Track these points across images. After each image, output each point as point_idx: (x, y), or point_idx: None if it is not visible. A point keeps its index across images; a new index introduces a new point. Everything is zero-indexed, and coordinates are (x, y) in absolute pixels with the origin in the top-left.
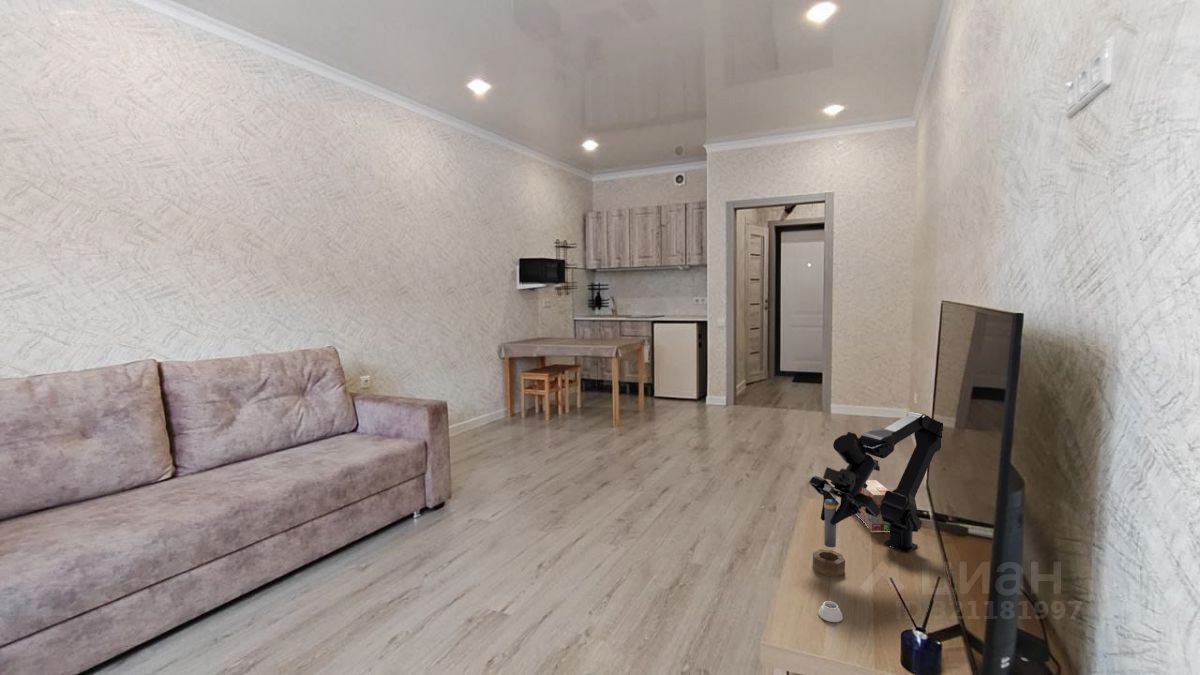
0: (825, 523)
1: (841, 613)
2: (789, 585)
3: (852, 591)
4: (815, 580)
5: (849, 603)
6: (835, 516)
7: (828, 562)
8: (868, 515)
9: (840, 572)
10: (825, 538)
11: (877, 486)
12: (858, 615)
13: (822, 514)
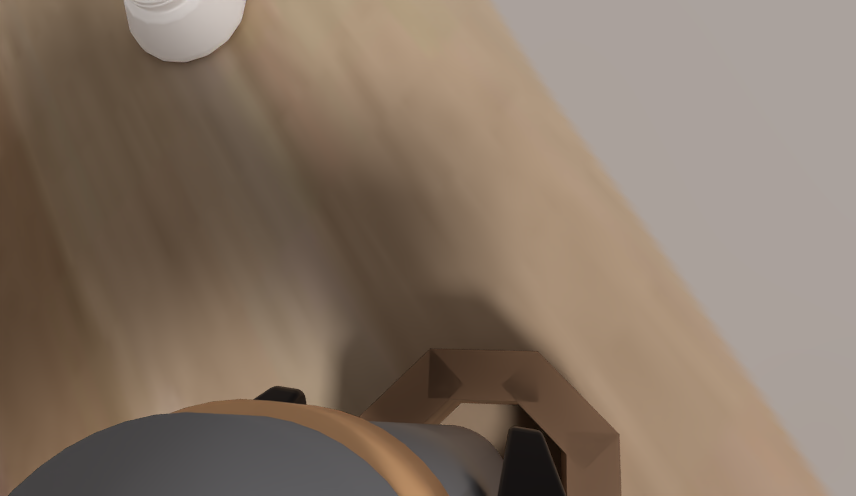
0: (437, 432)
1: (136, 35)
2: (514, 62)
3: (222, 328)
4: (449, 248)
5: (176, 194)
6: None
7: (416, 378)
8: None
9: None
10: (461, 429)
11: None
12: (97, 134)
13: (524, 482)
